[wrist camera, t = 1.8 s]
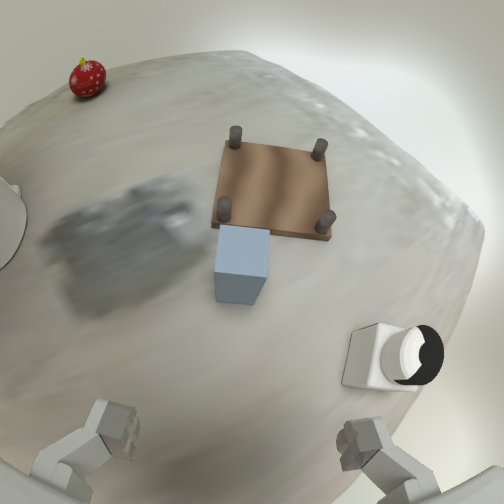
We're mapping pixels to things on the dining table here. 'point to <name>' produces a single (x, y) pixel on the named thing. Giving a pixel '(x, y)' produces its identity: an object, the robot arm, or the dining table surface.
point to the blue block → (241, 264)
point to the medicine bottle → (393, 358)
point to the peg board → (274, 189)
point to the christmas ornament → (87, 78)
